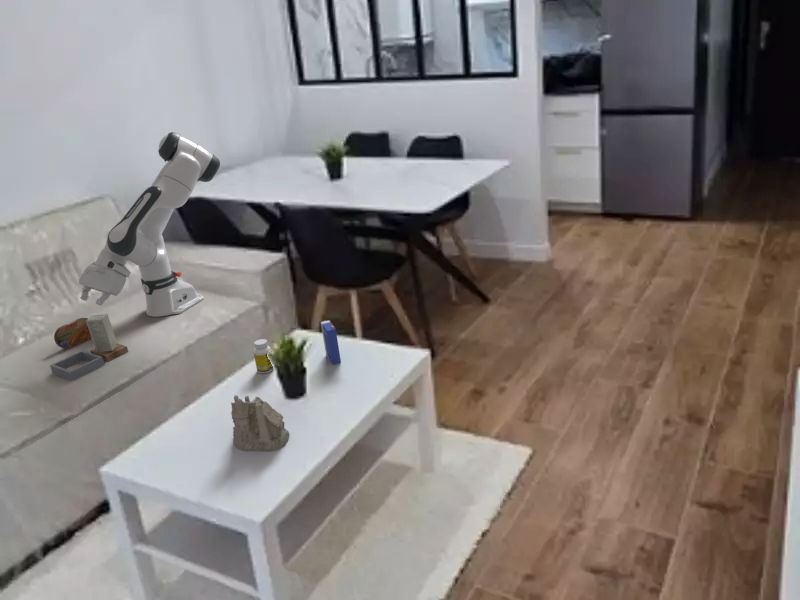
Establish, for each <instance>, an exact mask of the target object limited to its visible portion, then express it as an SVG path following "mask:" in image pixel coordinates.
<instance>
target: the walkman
mask: <svg viewBox="0 0 800 600" xmlns="http://www.w3.org/2000/svg"><path fill="white" fill-rule="evenodd" d="M320 325H321V331H322V338H323V343H324V351H325V356H326V357H327V356H328V357H327V358H328V360H329V361H330V363H331V364H332V365H336V364H337V365H338V364H339V363H342V361H341V360H342V359H341V355H340V349H339V348H340V347H339V341H338V334H337V329H336V327H335V326H334V324H333V323H332V322H331V320H330V319H329V320H323V321H321V322H320Z"/></svg>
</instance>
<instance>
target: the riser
mask: <svg viewBox="0 0 800 600" xmlns="http://www.w3.org/2000/svg"><path fill="white" fill-rule="evenodd" d="M117 345H118V346H117V347H116V348H115V349H114V350H113V351H105V352H96V349H95V348H92V349H91V350H89V353H92V354H95V355H98V356H101V357H102V358H103V361H105V362H110V361H112V360H115V359H116V358H119V357H120V356H122V355H125V354H127V353H128V352H129V349H128V346H127V345H124V344H121V343H117Z"/></svg>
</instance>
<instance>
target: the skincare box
mask: <svg viewBox="0 0 800 600" xmlns="http://www.w3.org/2000/svg"><path fill="white" fill-rule="evenodd" d="M87 318H88V319H87V320H86V323H87V325H88V328H89V332H90V335H91V340H92V342H93V343H92V344H93V346H94V349H96V352H105V351H113V350H114V349H115V348H116V347H117V346H118V345H117V339H116V335H115V333H114V329H113V326H112V323H111V321H110V317H109V315H108V313H107V314H105V313H103V314H95V315H94V314H93V315H91V316H90V317H87Z"/></svg>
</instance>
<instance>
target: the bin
mask: <svg viewBox="0 0 800 600" xmlns="http://www.w3.org/2000/svg"><path fill="white" fill-rule="evenodd" d="M81 361H87V362H86V363H84V364H81V365H80V366H77V367H75V368H74V369H71V370H69V369H68V368H70V367H73V365H75V364H77V363H80V362H81ZM104 361H105V360H103V358H102V357H101V356H98V355H95V354H92V353H90V351H89V352H88V351H86V350H83V349H82V350H80V351H77V352H76V353H75V352H74V353H73V354H70V355H69V356H67V357H64V358H62V359H60V360H59V361H56V362H54V363H52V364H50V365H49V367H50V370H51V373H52V374H53V375H56V376H59V377H61V378H63V379H66V380H68V381H70V382H74V381H75V380H77V379H79V378H82V377H83V376H85V375H87V374H89V373H91V372H93V371H96V370H97V369H99V368H101V367H103V366H105V362H104Z"/></svg>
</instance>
